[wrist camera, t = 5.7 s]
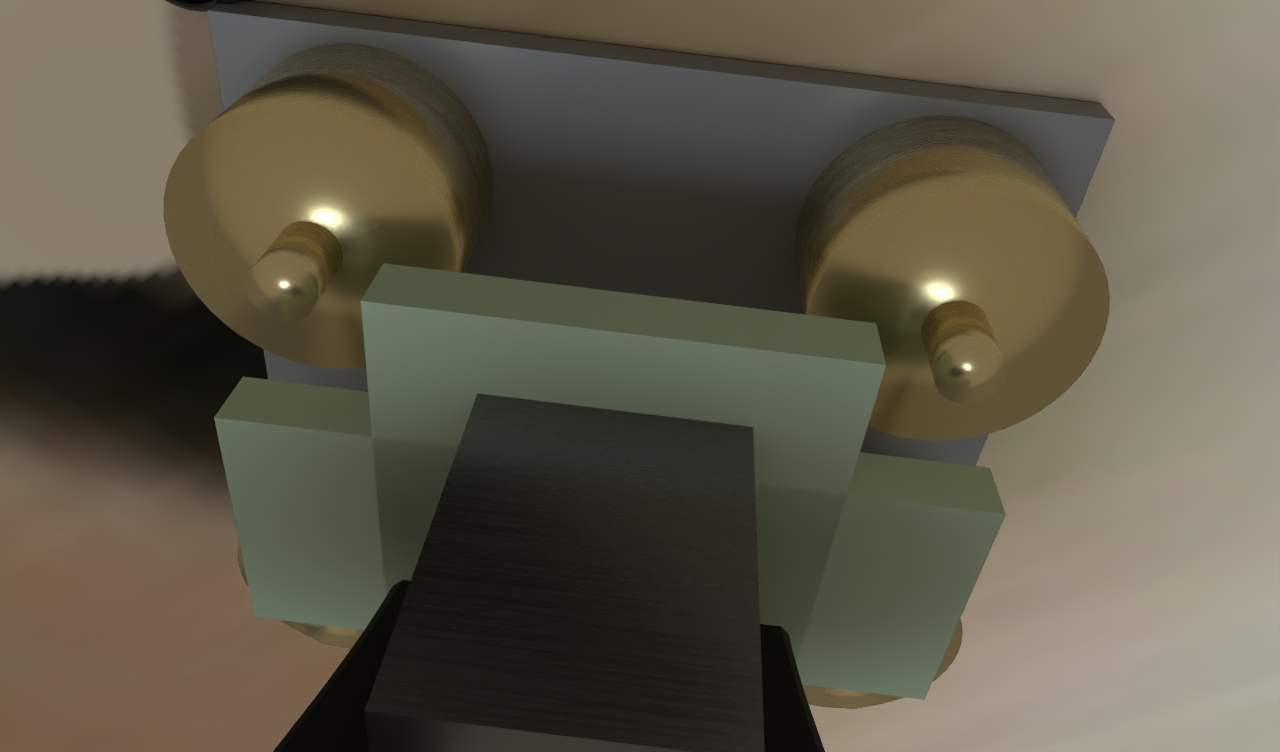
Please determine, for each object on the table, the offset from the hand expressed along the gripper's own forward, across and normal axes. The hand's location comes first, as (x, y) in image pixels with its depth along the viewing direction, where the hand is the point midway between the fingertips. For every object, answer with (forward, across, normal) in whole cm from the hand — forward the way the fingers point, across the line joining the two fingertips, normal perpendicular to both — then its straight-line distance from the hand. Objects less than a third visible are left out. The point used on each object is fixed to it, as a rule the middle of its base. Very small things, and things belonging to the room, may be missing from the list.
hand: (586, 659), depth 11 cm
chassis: (+6, 0, 0) cm, 6 cm away
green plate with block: (+2, 0, 0) cm, 2 cm away
